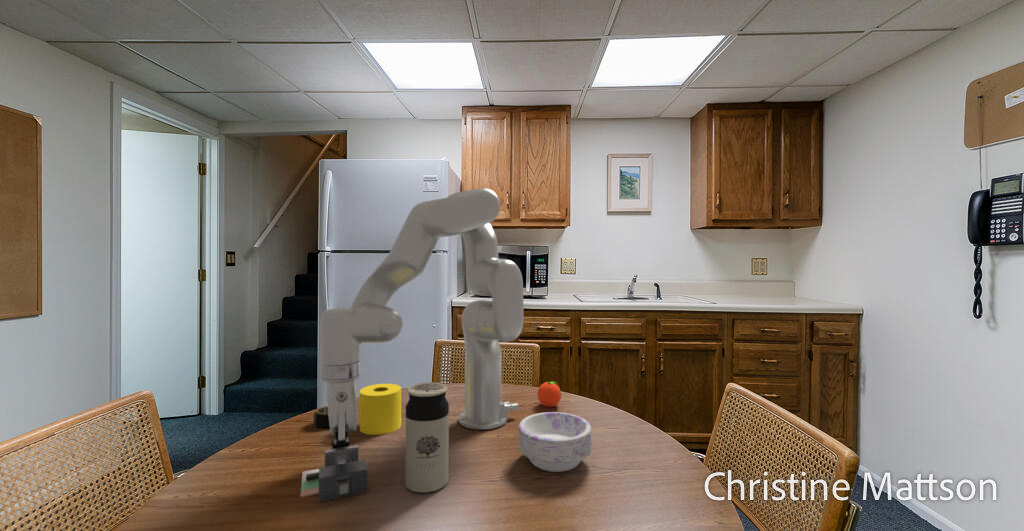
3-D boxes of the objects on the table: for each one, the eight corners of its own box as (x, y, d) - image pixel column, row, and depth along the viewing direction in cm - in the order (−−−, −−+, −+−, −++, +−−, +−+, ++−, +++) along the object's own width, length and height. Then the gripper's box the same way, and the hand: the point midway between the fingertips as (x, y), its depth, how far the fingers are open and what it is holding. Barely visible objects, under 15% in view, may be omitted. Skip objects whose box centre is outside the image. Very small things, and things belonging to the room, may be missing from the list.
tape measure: (341, 428, 105) (341, 413, 105) (311, 431, 103) (311, 416, 103) (343, 418, 112) (343, 404, 112) (315, 421, 110) (315, 406, 110)
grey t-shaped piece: (357, 469, 83) (357, 444, 83) (362, 496, 74) (362, 467, 74) (306, 479, 79) (306, 453, 79) (304, 508, 70) (304, 478, 70)
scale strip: (321, 469, 84) (321, 468, 84) (321, 493, 75) (321, 492, 75) (302, 472, 83) (302, 471, 83) (300, 497, 74) (300, 496, 74)
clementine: (550, 399, 127) (550, 376, 127) (568, 405, 122) (568, 381, 122) (532, 405, 122) (532, 381, 122) (550, 412, 116) (550, 386, 116)
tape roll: (406, 428, 105) (406, 391, 105) (366, 438, 99) (366, 398, 99) (393, 416, 113) (393, 381, 113) (355, 424, 107) (355, 387, 107)
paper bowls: (507, 471, 84) (507, 432, 83) (532, 441, 98) (532, 407, 98) (583, 487, 78) (583, 444, 78) (597, 452, 92) (597, 416, 92)
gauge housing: (365, 481, 79) (365, 459, 79) (367, 492, 76) (367, 469, 76) (318, 490, 76) (319, 467, 76) (318, 502, 72) (318, 478, 72)
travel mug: (412, 471, 83) (412, 381, 83) (451, 472, 83) (452, 382, 83) (400, 493, 75) (400, 394, 75) (444, 494, 75) (444, 394, 75)
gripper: (363, 377, 79) (363, 474, 79) (358, 360, 92) (358, 443, 93) (319, 382, 76) (319, 483, 76) (321, 363, 89) (320, 449, 90)
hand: (340, 460), depth 84 cm, fingers closed
